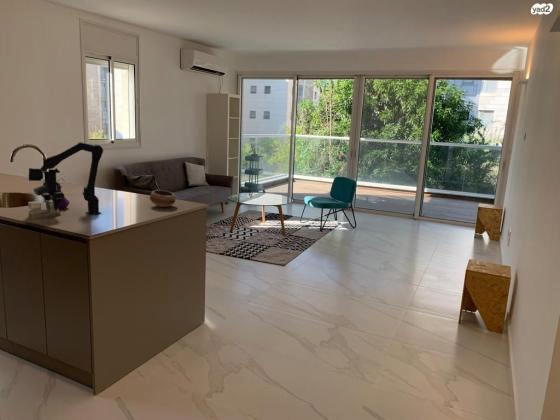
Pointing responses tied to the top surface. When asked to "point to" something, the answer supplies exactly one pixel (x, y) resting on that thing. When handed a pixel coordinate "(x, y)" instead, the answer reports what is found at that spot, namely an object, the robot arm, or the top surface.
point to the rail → (40, 211)
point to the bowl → (162, 198)
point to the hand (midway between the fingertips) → (52, 208)
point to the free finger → (50, 206)
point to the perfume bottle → (64, 201)
